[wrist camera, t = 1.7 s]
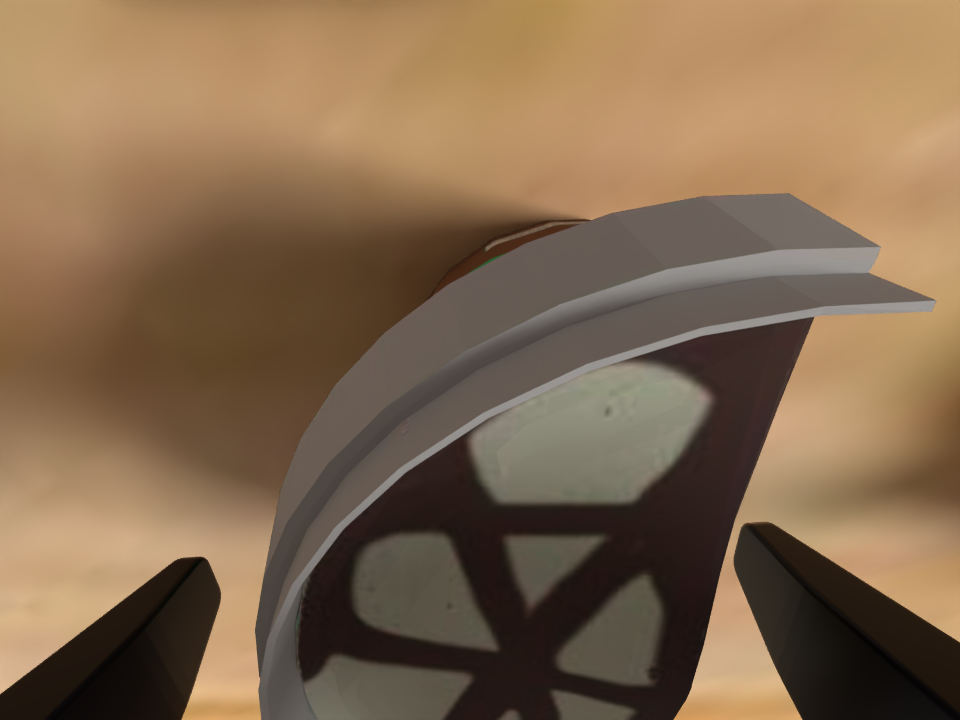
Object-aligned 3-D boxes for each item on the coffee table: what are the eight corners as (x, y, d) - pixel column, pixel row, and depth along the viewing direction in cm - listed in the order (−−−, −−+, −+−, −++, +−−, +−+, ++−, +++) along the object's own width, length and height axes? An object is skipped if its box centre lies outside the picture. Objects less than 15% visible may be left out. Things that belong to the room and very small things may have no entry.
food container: (359, 144, 12) (26, 168, 3) (598, 160, 12) (976, 227, 3) (375, 514, 17) (276, 934, 8) (542, 519, 17) (625, 927, 8)
